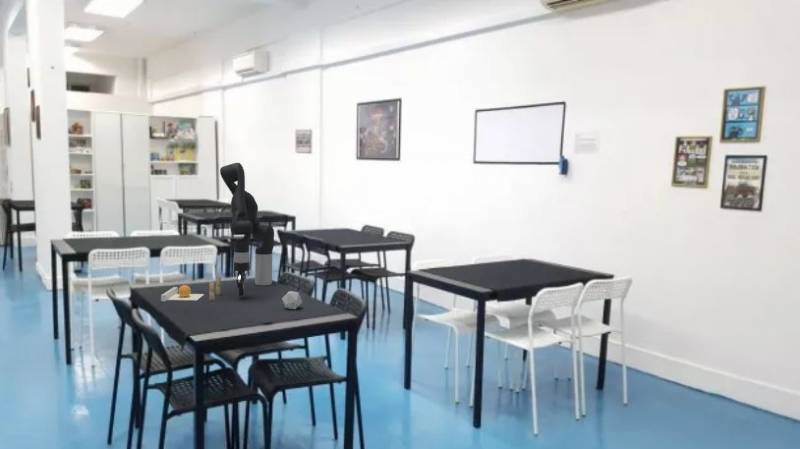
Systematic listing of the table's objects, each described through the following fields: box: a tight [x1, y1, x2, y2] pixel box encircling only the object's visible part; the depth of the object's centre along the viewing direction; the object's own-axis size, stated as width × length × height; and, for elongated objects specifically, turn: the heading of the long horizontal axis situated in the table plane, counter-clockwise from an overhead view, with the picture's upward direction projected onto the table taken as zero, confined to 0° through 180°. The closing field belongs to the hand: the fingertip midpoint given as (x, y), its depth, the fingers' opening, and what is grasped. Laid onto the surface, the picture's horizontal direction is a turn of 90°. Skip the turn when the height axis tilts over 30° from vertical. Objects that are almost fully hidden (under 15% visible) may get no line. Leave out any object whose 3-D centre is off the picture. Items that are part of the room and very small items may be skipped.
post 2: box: [215, 276, 222, 296], centre depth 304 cm, size 2×2×9 cm
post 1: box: [208, 281, 216, 302], centre depth 291 cm, size 2×2×9 cm
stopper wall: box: [160, 286, 179, 302], centre depth 296 cm, size 20×2×3 cm, turn 4°
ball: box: [177, 284, 192, 297], centre depth 297 cm, size 6×6×6 cm
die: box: [281, 290, 303, 311], centre depth 280 cm, size 8×9×10 cm
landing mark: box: [167, 293, 205, 301], centre depth 297 cm, size 14×14×1 cm
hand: (241, 295), depth 298 cm, fingers closed
